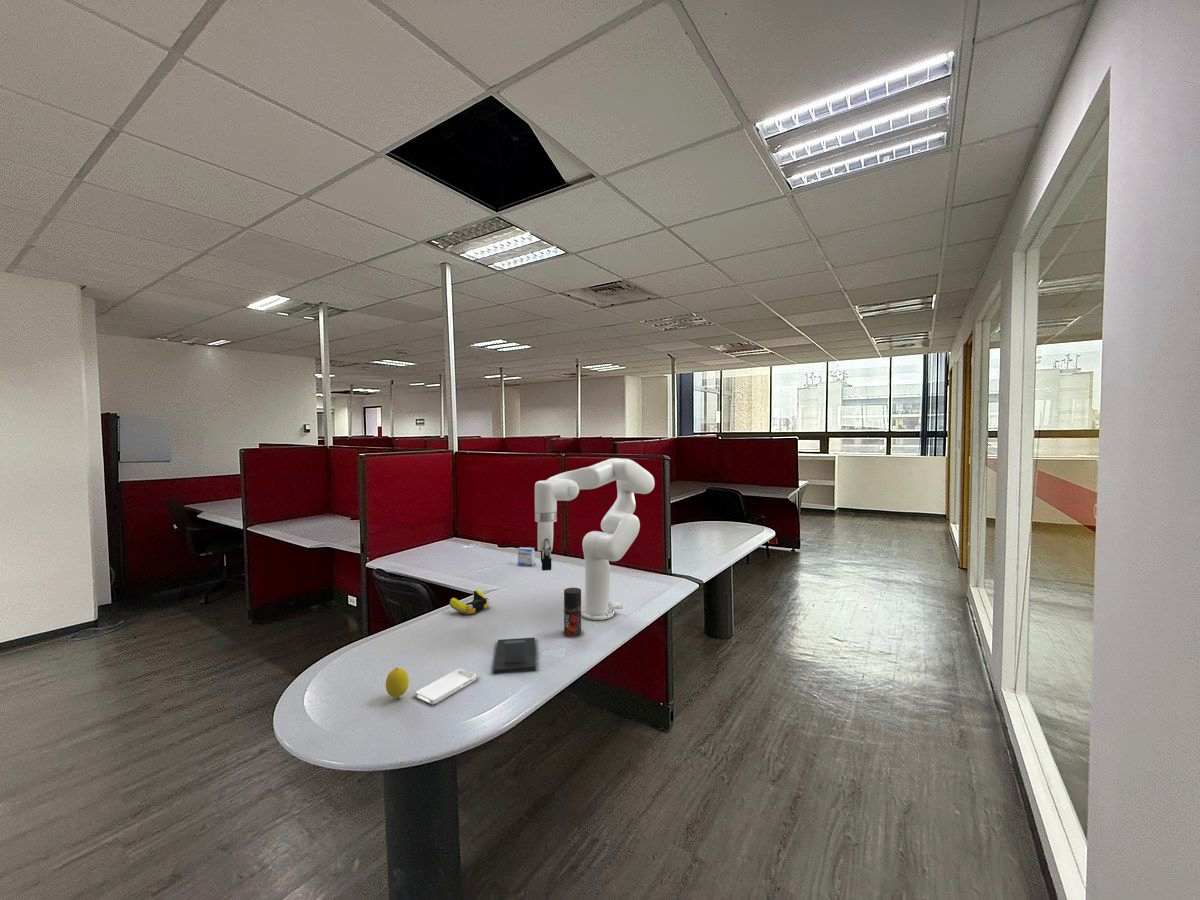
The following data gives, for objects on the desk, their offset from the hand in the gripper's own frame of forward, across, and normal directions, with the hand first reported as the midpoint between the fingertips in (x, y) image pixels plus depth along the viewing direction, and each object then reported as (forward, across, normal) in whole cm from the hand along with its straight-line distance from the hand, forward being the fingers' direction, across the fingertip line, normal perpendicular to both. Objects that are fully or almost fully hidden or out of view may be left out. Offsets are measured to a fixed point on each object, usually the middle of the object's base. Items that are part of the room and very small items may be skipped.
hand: (546, 566), depth 164 cm
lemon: (+23, +35, -40) cm, 58 cm away
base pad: (+23, +12, -10) cm, 28 cm away
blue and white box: (+24, -87, -7) cm, 90 cm away
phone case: (+23, +32, -28) cm, 49 cm away
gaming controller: (+24, -26, -28) cm, 45 cm away
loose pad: (+23, +21, -10) cm, 33 cm away
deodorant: (+24, +2, +9) cm, 25 cm away
